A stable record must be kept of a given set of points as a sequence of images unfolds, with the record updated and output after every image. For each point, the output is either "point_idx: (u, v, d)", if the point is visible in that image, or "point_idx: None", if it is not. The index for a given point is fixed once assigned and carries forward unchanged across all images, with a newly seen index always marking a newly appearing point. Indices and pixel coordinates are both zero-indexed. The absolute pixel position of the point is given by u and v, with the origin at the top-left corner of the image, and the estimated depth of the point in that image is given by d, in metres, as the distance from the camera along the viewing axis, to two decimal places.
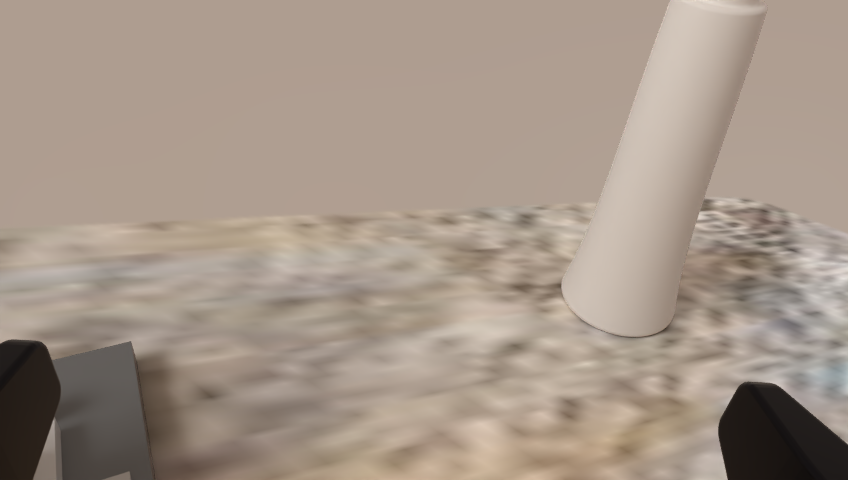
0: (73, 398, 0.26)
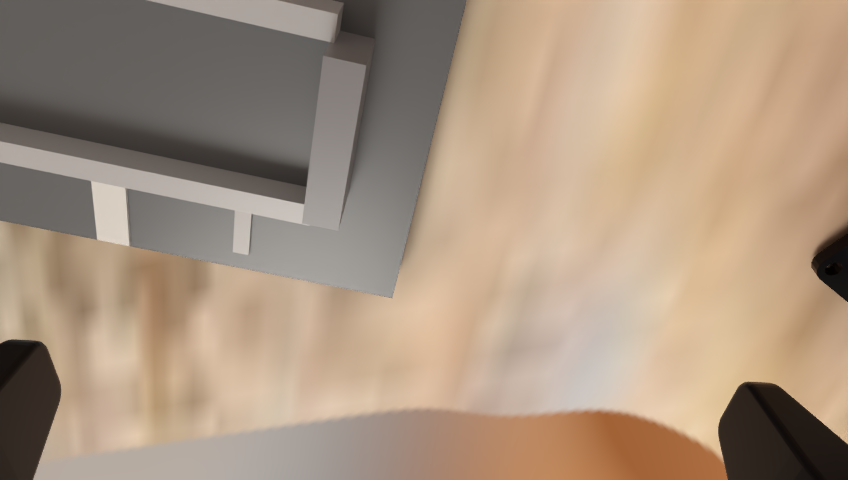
0: None
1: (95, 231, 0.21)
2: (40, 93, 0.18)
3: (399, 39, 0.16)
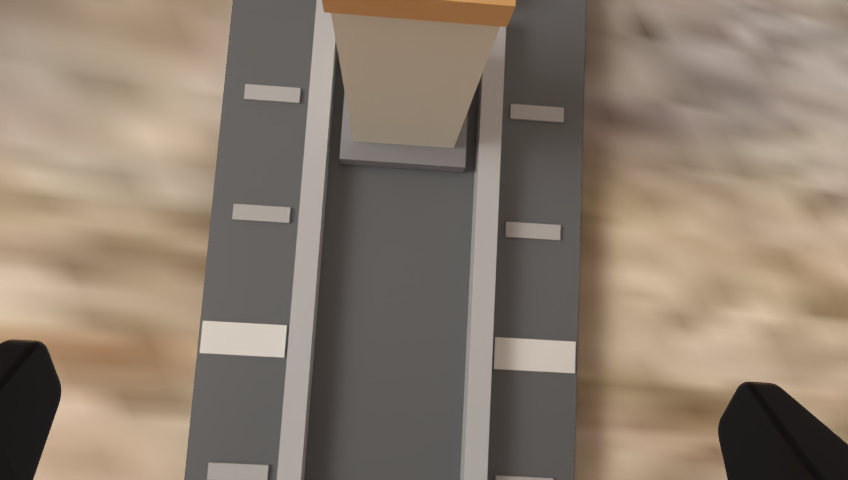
0: None
1: (211, 318, 0.20)
2: (356, 291, 0.21)
3: None
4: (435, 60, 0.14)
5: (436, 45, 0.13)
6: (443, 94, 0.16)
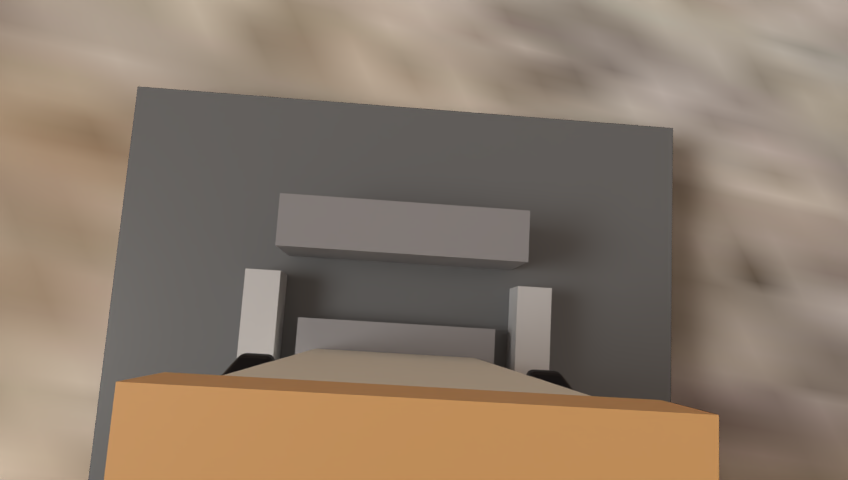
0: (566, 226, 0.14)
1: None
2: None
3: None
4: None
5: None
6: None
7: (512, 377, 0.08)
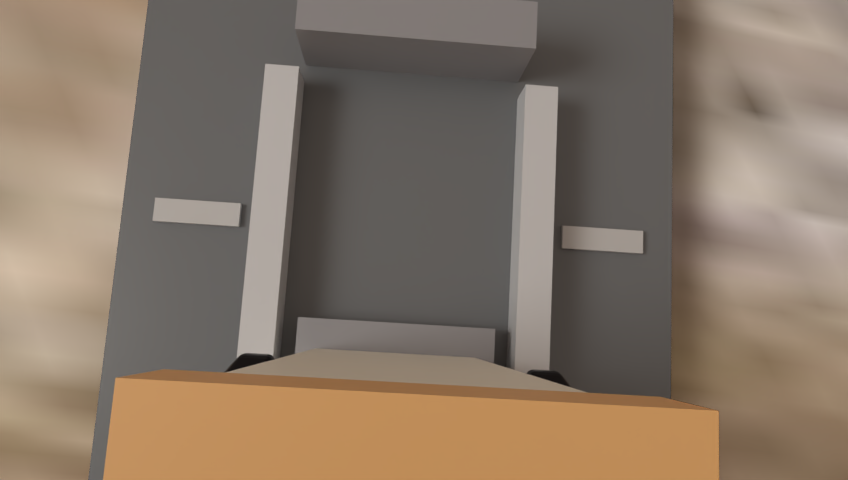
0: (571, 42, 0.15)
1: None
2: None
3: None
4: None
5: None
6: None
7: (512, 376, 0.08)
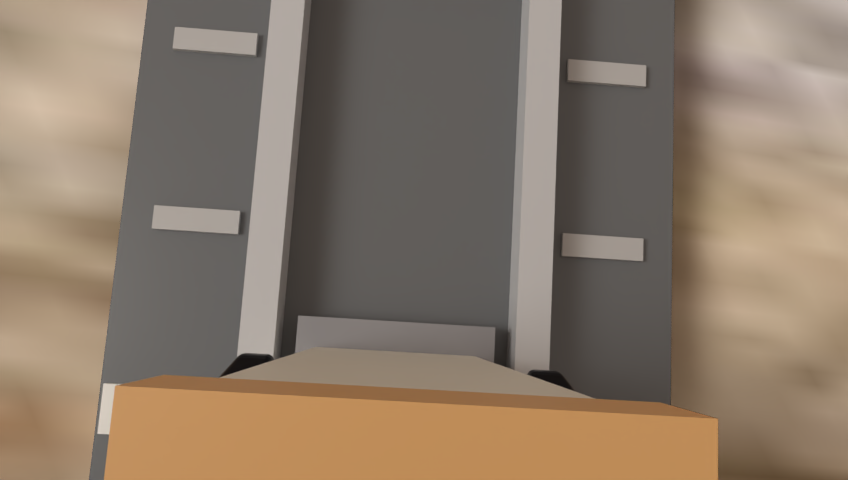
0: None
1: (118, 380, 0.13)
2: None
3: None
4: None
5: None
6: None
7: (512, 377, 0.08)
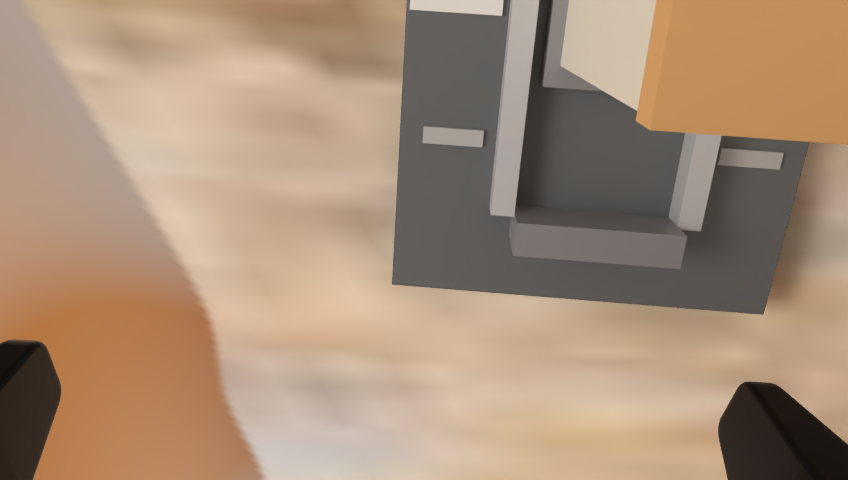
0: None
1: None
2: None
3: None
4: None
5: None
6: None
7: None
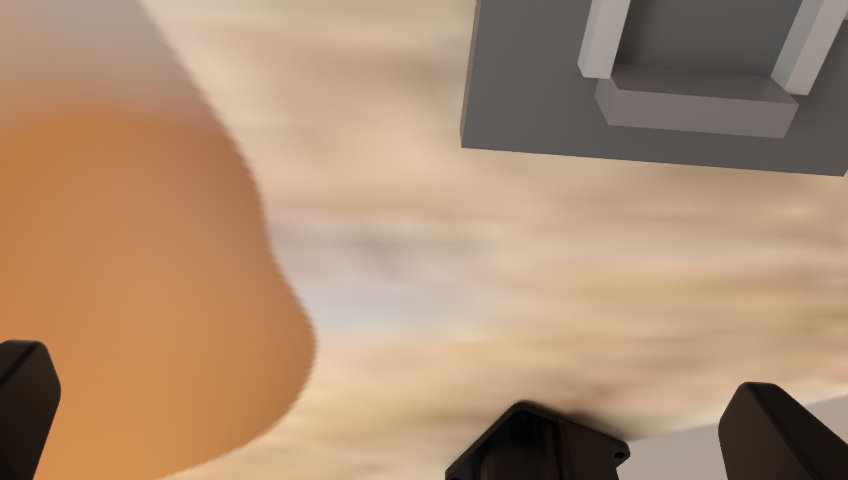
0: None
1: None
2: None
3: None
4: None
5: None
6: None
7: None
